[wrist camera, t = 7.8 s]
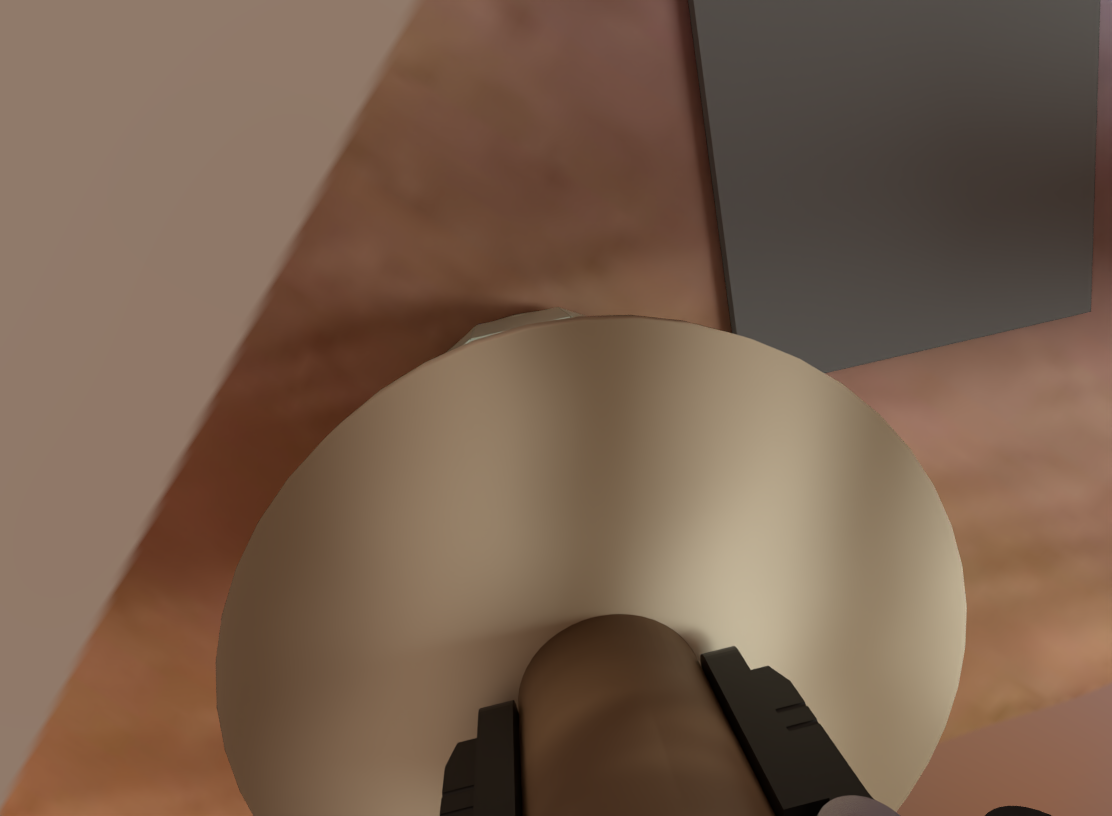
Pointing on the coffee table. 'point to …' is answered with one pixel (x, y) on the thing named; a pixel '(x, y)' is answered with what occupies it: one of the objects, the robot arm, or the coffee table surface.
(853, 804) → the robot arm
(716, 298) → the coffee table surface
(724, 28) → the mat
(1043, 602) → the coffee table surface
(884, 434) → the lid
